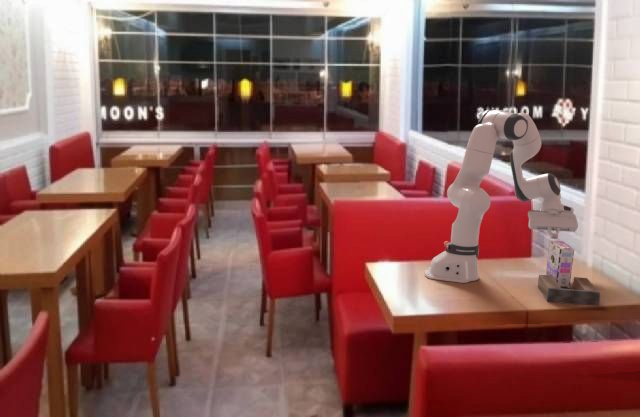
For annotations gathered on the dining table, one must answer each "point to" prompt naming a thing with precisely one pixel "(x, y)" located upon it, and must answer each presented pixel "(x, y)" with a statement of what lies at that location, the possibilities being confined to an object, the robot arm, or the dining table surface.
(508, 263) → the dining table surface
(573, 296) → the cradle
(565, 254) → the candy box
